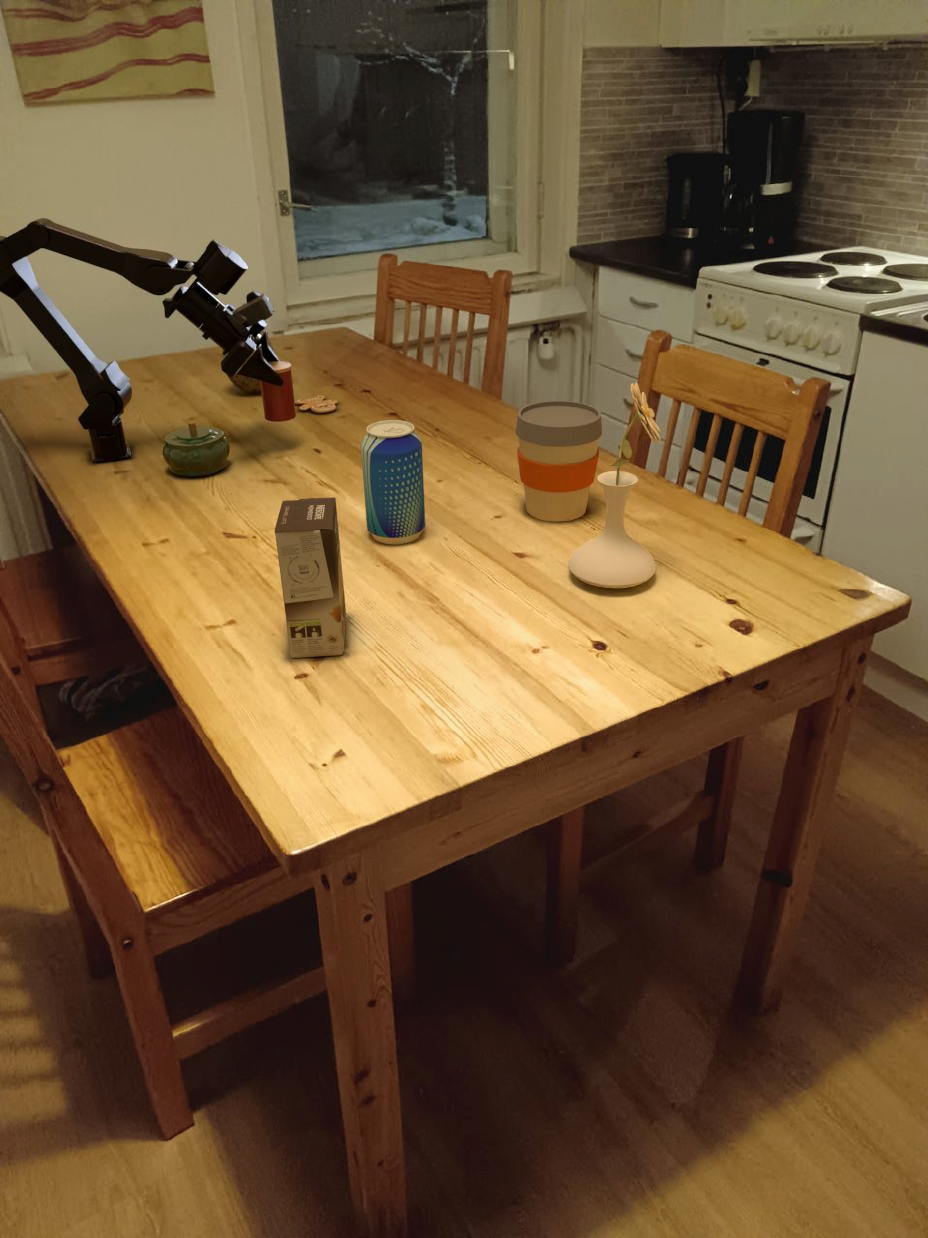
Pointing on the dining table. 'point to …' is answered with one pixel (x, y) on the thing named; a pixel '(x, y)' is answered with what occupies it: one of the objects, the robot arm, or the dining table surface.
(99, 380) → the robot arm
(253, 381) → the decorative egg
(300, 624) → the coffee box
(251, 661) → the dining table surface
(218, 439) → the lidded pot
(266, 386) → the tea canister
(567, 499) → the reusable coffee cup
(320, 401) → the cookie
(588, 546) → the flower in vase
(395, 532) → the beer can
